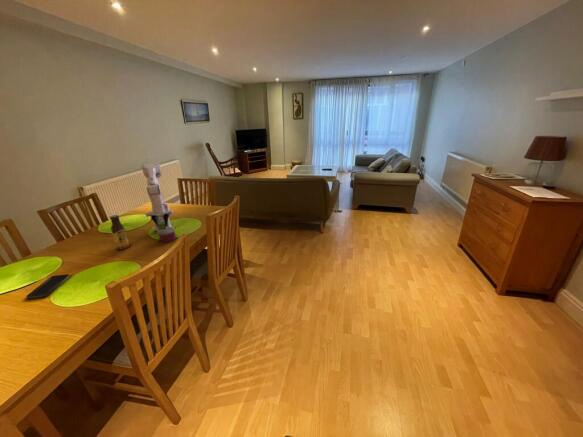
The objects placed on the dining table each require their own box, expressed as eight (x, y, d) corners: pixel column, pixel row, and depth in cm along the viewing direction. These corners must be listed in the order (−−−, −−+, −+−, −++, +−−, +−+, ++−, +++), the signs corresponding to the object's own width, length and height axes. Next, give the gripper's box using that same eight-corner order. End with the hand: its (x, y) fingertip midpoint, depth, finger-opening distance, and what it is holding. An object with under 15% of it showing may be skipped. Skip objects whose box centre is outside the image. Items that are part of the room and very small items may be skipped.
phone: (24, 297, 100) (51, 275, 113) (25, 299, 100) (52, 277, 114) (45, 295, 101) (70, 274, 114) (46, 297, 101) (71, 276, 115)
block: (158, 230, 143) (157, 224, 141) (160, 227, 147) (159, 221, 145) (166, 229, 144) (164, 223, 142) (167, 226, 147) (166, 220, 146)
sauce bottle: (123, 250, 137) (112, 218, 129) (114, 249, 138) (103, 218, 130) (132, 245, 143) (123, 214, 135) (123, 244, 144) (113, 213, 136)
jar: (156, 241, 146) (153, 232, 144) (167, 234, 155) (165, 226, 153) (168, 243, 144) (166, 234, 141) (180, 236, 152) (178, 227, 150)
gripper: (141, 208, 134) (147, 230, 140) (169, 206, 137) (174, 227, 142) (145, 204, 141) (151, 225, 146) (172, 202, 143) (176, 223, 149)
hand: (162, 226), depth 145 cm, fingers closed on block, 4 cm apart
